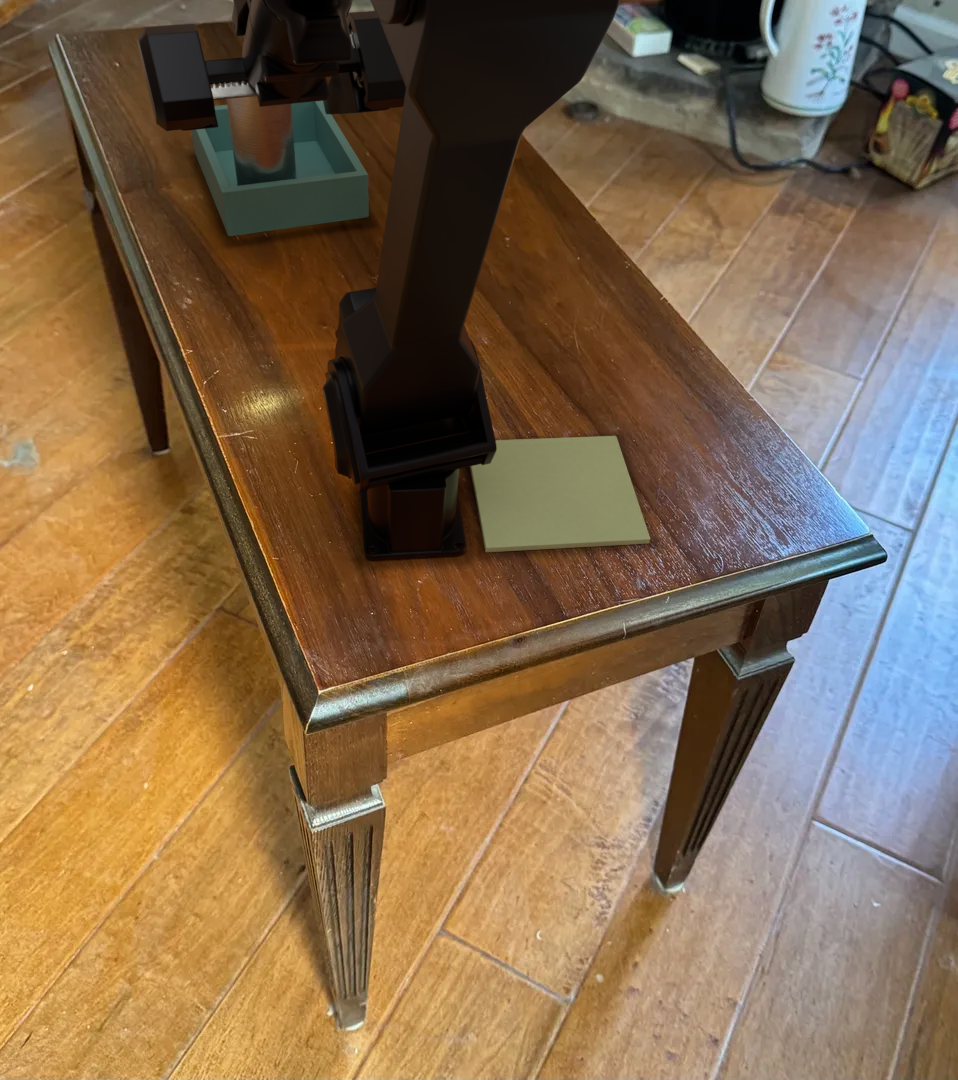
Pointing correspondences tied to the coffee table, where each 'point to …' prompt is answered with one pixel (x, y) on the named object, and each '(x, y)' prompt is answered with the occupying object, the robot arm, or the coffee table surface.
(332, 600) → the coffee table surface
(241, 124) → the bottle
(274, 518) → the coffee table surface
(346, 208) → the teal open box
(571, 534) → the placemat
